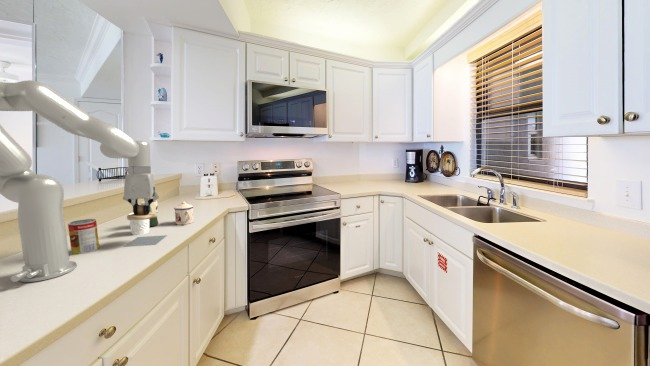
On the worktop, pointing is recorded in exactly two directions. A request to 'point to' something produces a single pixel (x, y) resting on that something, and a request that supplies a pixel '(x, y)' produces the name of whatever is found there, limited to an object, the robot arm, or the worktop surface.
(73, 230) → the canned food
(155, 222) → the character mug
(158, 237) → the mat
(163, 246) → the worktop surface
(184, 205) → the teacup with lid
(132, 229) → the white cup
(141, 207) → the lid
